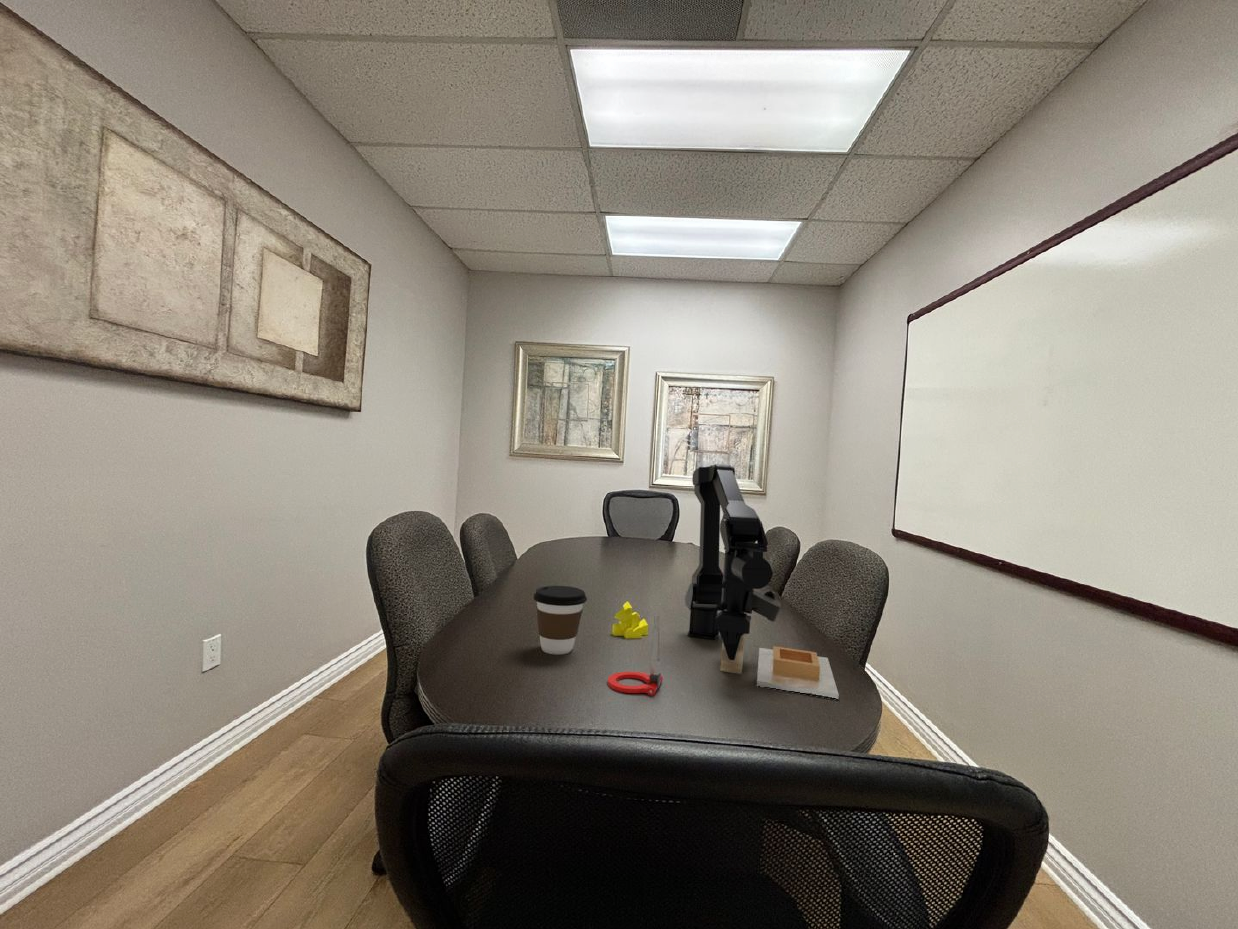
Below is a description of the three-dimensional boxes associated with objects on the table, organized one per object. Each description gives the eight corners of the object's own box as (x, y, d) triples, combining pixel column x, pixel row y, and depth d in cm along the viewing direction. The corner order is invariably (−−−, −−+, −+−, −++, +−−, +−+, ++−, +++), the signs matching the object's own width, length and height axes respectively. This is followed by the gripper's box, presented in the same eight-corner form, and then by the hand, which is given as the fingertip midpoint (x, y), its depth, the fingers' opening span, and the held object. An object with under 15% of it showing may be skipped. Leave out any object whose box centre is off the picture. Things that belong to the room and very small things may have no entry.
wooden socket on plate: (756, 686, 102) (757, 667, 102) (758, 652, 121) (760, 636, 121) (838, 700, 98) (839, 680, 98) (827, 662, 117) (828, 646, 117)
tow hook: (601, 692, 96) (653, 699, 93) (603, 616, 96) (655, 622, 94) (615, 675, 104) (664, 681, 101) (616, 605, 104) (665, 610, 102)
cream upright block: (720, 670, 108) (723, 629, 108) (722, 663, 112) (724, 624, 112) (741, 674, 107) (744, 632, 107) (742, 667, 111) (745, 627, 111)
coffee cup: (519, 652, 111) (523, 592, 111) (546, 637, 121) (550, 582, 121) (568, 662, 107) (572, 600, 107) (592, 646, 117) (595, 590, 117)
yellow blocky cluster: (650, 638, 126) (652, 604, 126) (616, 639, 124) (619, 604, 124) (642, 630, 132) (644, 597, 132) (609, 631, 129) (611, 597, 129)
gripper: (781, 592, 99) (774, 680, 99) (779, 573, 117) (774, 648, 117) (717, 584, 102) (711, 669, 102) (725, 567, 120) (720, 640, 120)
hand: (732, 656), depth 110 cm, fingers closed on cream upright block, 4 cm apart
